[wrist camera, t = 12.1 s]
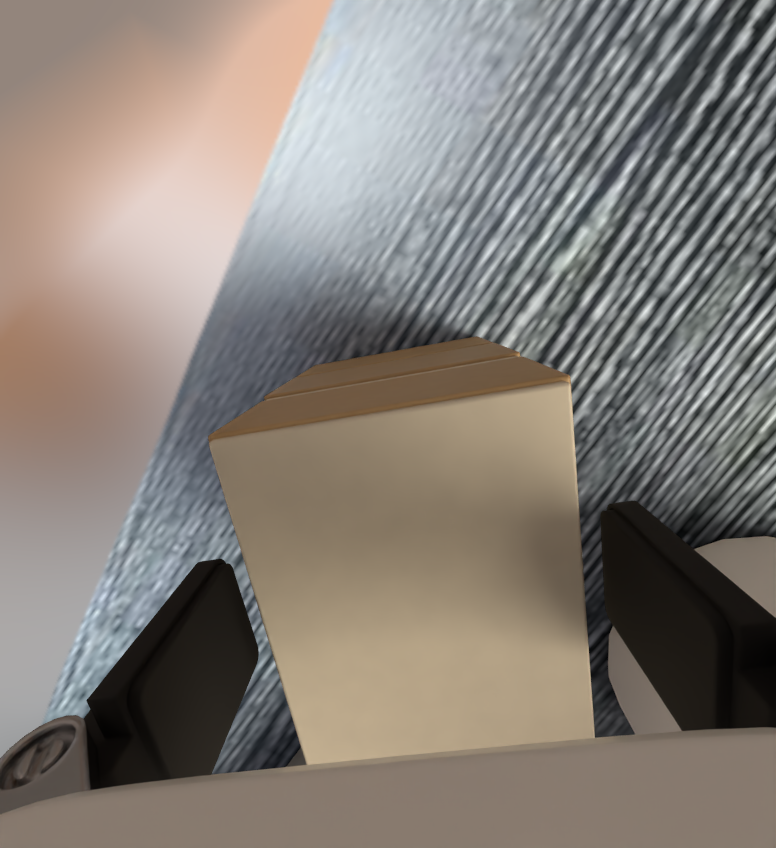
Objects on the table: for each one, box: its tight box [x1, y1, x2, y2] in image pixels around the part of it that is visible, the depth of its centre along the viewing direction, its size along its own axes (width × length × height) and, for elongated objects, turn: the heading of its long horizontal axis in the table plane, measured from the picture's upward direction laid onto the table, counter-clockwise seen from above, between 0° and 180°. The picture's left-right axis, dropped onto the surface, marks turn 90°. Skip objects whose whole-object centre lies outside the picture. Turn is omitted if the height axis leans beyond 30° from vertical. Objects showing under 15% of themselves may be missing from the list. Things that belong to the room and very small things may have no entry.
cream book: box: [208, 357, 595, 765], centre depth 11 cm, size 10×7×4 cm
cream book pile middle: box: [264, 343, 520, 401], centre depth 14 cm, size 10×7×4 cm
